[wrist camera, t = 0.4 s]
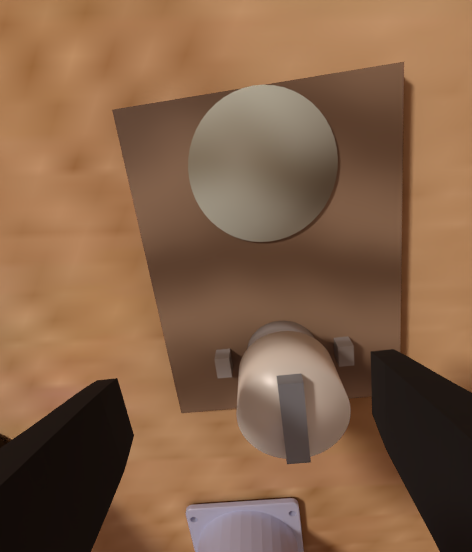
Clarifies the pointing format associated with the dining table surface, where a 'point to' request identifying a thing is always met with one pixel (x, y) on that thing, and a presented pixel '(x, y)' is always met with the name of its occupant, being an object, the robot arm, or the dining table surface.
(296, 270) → the base
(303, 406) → the knob
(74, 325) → the dining table surface
